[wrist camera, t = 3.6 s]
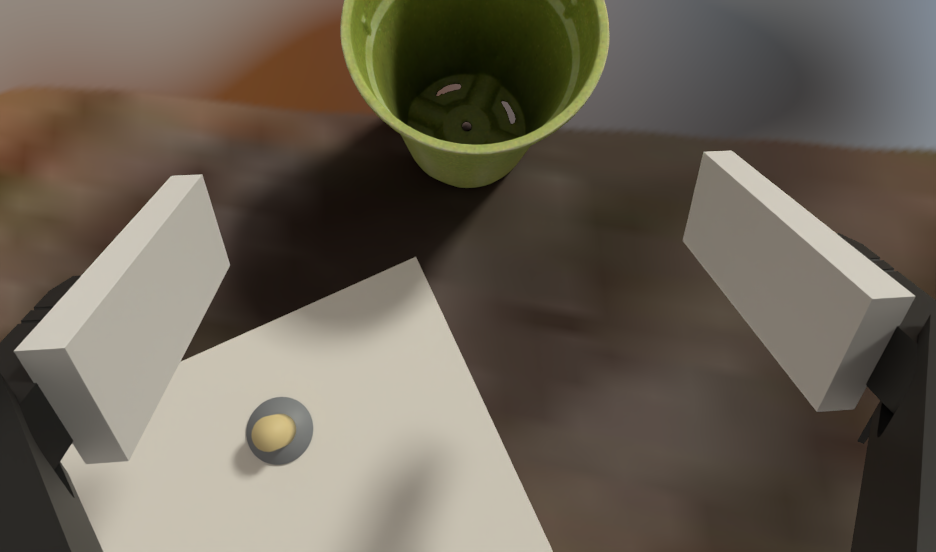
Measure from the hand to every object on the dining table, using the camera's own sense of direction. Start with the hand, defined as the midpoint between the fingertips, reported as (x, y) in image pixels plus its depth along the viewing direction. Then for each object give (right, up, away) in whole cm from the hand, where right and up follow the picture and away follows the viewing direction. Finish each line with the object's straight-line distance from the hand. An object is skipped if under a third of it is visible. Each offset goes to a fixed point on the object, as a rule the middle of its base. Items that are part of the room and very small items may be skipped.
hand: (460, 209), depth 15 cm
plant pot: (0, +5, +13) cm, 14 cm away
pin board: (-7, -16, +9) cm, 19 cm away
